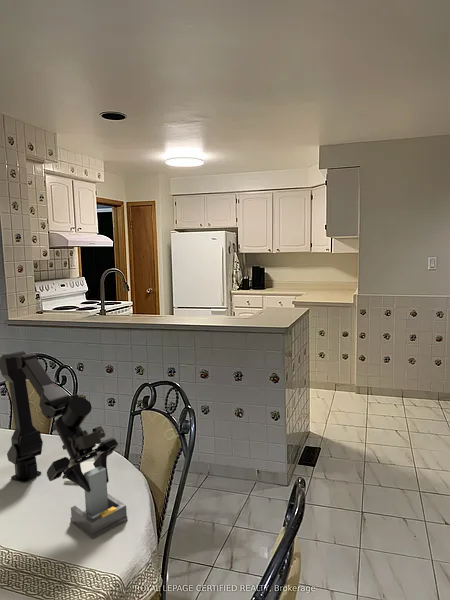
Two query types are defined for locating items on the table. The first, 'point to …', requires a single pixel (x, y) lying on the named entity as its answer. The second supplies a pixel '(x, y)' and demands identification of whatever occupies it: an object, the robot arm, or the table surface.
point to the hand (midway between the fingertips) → (98, 486)
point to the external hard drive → (83, 469)
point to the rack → (100, 518)
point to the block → (96, 491)
